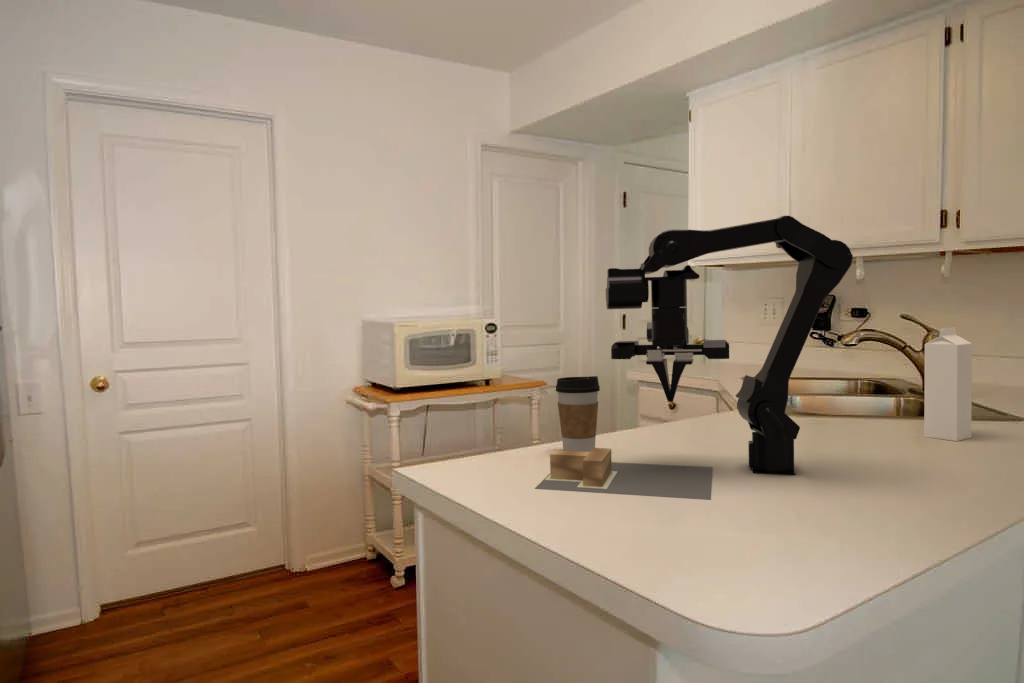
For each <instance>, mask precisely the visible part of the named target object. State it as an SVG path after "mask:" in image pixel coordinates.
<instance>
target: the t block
mask: <svg viewBox="0 0 1024 683" xmlns="http://www.w3.org/2000/svg"><path fill="white" fill-rule="evenodd" d="M612 462H613V461H612V448H604V447H595V448H593V449H592V450H591V451H590V452H582V451H563V450H555V449H554V450H553V451H552V452H551V453H550V455H549V466H550V467H549V469H550V471H549V472H550V473H549V474H551V479H565V480H583V486H594V487H603V485H604V484H605V482H606V481H607V479H608V477H609V476H610V474H611V473H612Z"/></svg>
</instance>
